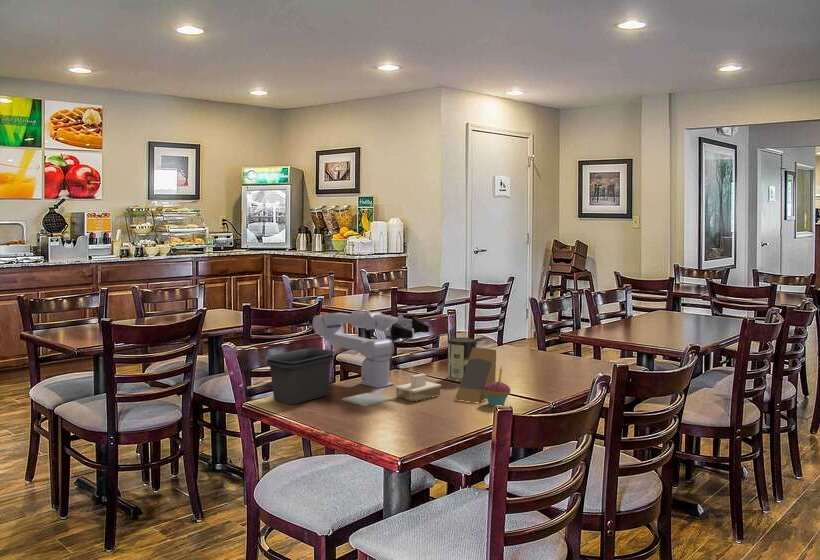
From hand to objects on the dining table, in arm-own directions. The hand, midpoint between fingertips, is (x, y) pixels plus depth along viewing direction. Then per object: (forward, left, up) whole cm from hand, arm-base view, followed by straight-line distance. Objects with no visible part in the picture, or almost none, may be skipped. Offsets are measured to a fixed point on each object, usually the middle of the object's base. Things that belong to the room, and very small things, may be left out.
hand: (420, 331), depth 240 cm
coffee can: (-7, +29, -21) cm, 37 cm away
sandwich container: (+14, +11, -21) cm, 28 cm away
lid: (+1, -2, -18) cm, 18 cm away
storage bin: (-24, -31, -21) cm, 44 cm away
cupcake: (+25, +8, -21) cm, 34 cm away
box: (+1, -2, -21) cm, 21 cm away
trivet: (-7, -17, -21) cm, 28 cm away
